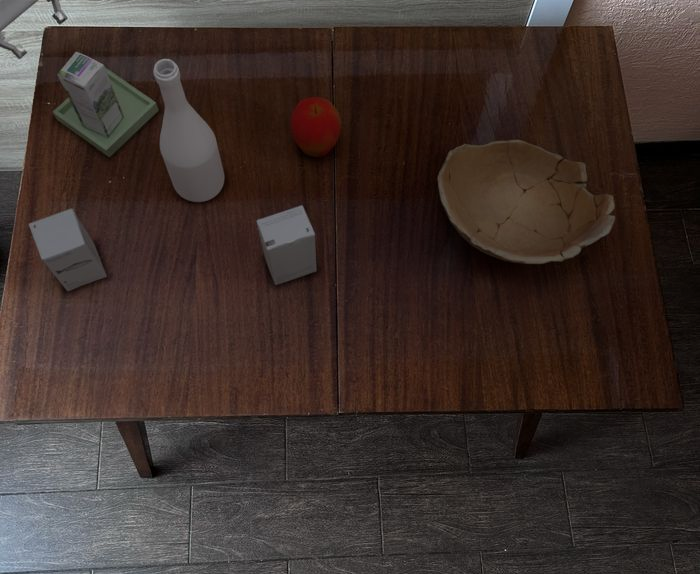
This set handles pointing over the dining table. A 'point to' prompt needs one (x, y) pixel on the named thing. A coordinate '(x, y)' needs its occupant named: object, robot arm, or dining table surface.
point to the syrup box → (91, 94)
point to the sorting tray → (135, 116)
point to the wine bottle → (187, 141)
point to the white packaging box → (67, 249)
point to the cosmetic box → (288, 244)
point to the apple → (315, 126)
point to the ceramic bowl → (522, 202)
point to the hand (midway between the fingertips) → (43, 38)
